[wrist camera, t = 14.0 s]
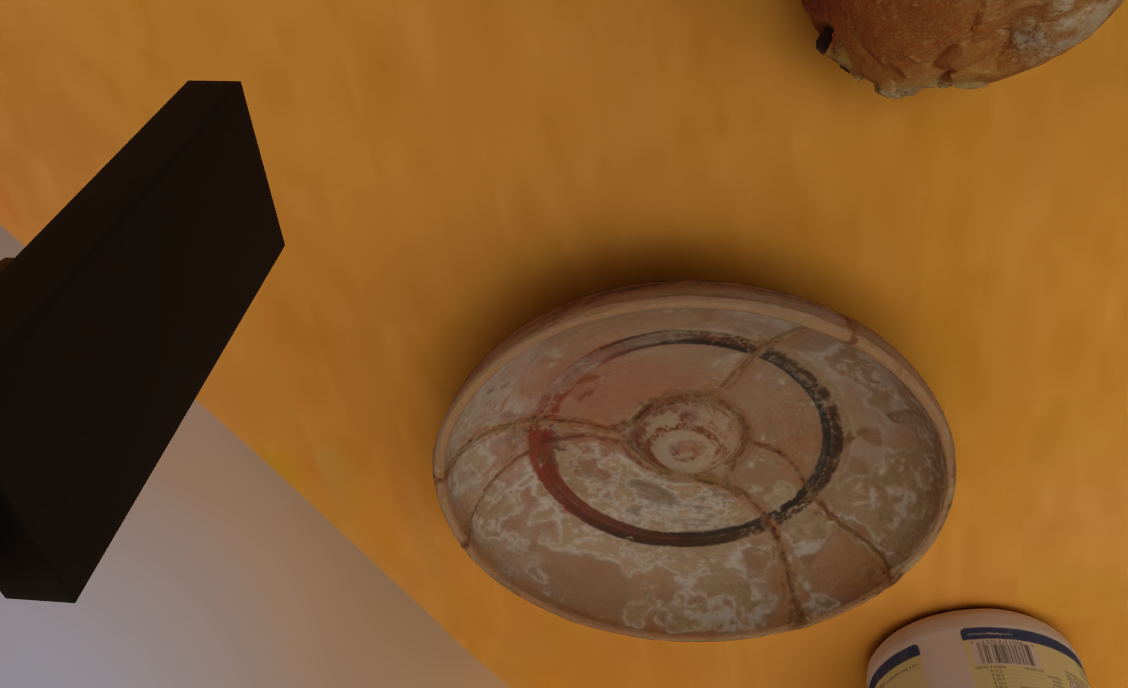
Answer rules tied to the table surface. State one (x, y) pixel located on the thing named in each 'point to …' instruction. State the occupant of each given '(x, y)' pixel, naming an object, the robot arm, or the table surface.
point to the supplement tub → (976, 654)
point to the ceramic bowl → (695, 462)
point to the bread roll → (949, 38)
